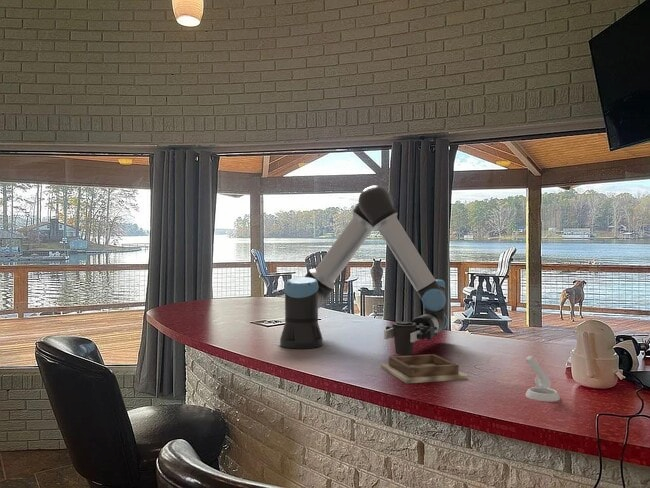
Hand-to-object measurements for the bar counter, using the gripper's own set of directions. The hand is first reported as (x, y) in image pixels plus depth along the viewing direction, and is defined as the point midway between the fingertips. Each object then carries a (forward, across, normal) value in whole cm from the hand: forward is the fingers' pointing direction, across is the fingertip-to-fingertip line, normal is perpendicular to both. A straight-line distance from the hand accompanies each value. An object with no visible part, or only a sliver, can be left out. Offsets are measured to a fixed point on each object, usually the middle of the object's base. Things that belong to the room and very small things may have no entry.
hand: (398, 336), depth 169 cm
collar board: (+11, -12, -7) cm, 18 cm away
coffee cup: (-5, 0, -6) cm, 8 cm away
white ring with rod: (+18, -45, -7) cm, 49 cm away
